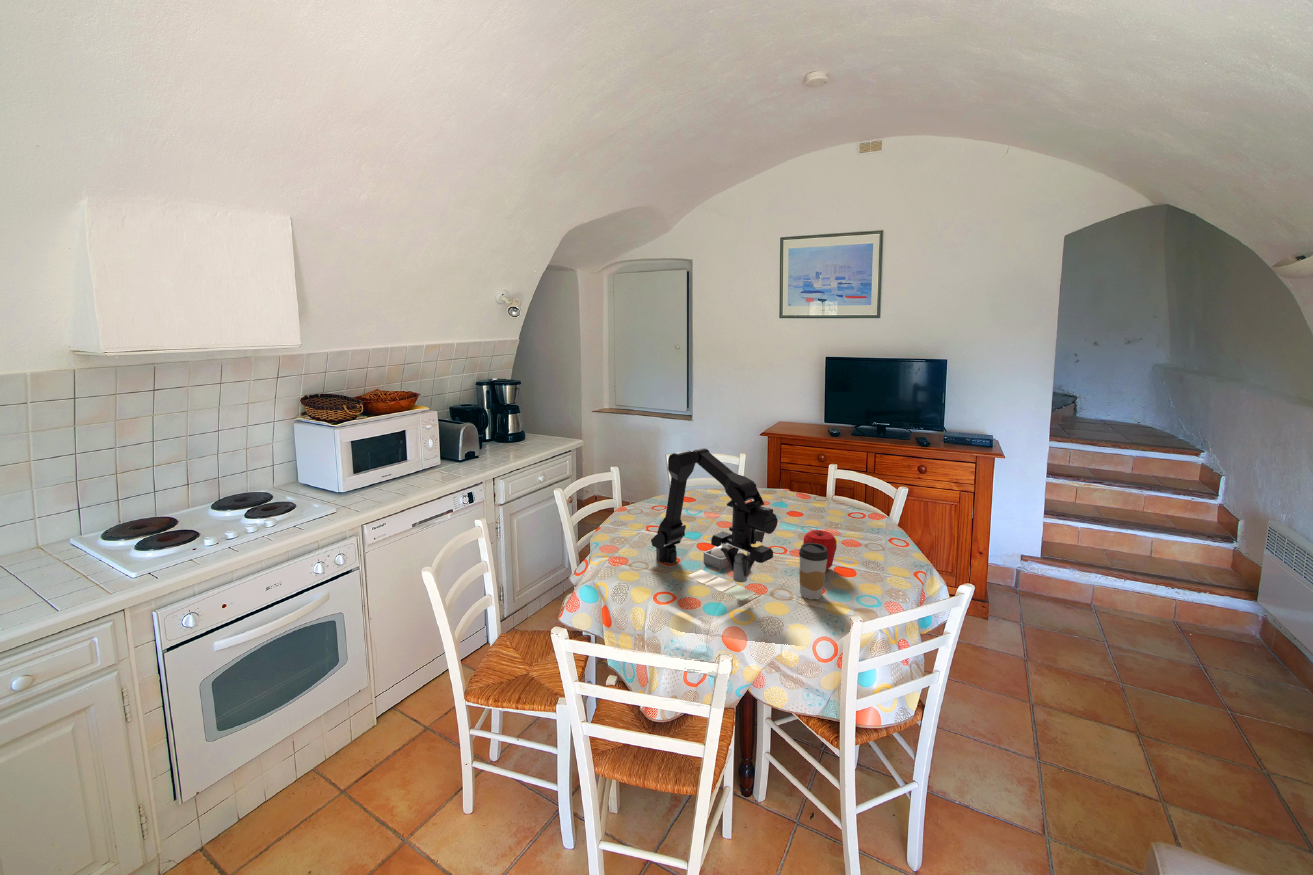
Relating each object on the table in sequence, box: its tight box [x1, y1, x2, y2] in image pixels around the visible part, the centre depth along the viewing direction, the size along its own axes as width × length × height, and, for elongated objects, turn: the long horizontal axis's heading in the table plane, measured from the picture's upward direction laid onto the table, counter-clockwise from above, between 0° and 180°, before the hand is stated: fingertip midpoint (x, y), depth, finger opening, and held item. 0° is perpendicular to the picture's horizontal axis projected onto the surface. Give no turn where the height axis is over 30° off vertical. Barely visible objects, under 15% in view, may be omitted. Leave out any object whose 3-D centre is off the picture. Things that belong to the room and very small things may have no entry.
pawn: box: [732, 551, 748, 583], centre depth 176 cm, size 4×4×8 cm
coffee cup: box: [798, 543, 828, 600], centre depth 177 cm, size 8×8×15 cm
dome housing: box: [703, 548, 731, 570], centre depth 198 cm, size 8×8×4 cm
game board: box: [686, 569, 762, 608], centre depth 183 cm, size 23×10×1 cm, turn 44°
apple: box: [802, 529, 838, 571], centre depth 194 cm, size 11×10×14 cm
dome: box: [711, 544, 725, 558], centre depth 198 cm, size 6×6×6 cm
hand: (740, 573), depth 176 cm, fingers closed on pawn, 4 cm apart
